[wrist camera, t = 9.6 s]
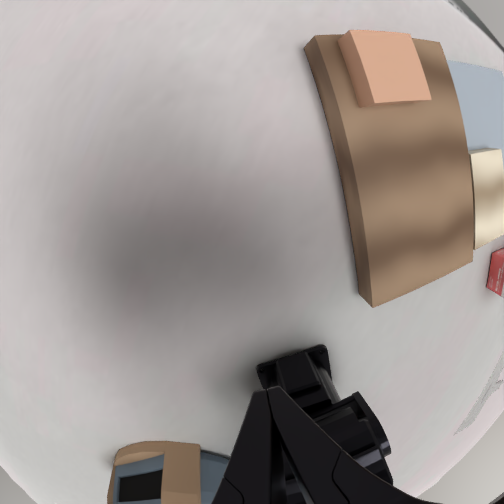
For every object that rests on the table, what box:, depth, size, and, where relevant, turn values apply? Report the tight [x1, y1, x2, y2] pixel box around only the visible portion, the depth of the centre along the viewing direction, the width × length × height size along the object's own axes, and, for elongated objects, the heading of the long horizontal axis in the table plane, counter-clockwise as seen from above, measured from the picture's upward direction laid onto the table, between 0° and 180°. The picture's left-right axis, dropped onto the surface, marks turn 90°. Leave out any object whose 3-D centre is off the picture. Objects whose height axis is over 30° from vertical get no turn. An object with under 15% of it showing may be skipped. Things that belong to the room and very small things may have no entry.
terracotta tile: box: [338, 30, 432, 108], centre depth 14 cm, size 5×5×2 cm
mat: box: [446, 60, 504, 169], centre depth 19 cm, size 18×14×1 cm
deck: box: [304, 34, 474, 308], centre depth 18 cm, size 20×12×2 cm, turn 16°
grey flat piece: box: [454, 351, 504, 435], centre depth 35 cm, size 25×24×1 cm
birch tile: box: [468, 148, 504, 250], centre depth 20 cm, size 9×6×2 cm, turn 16°
